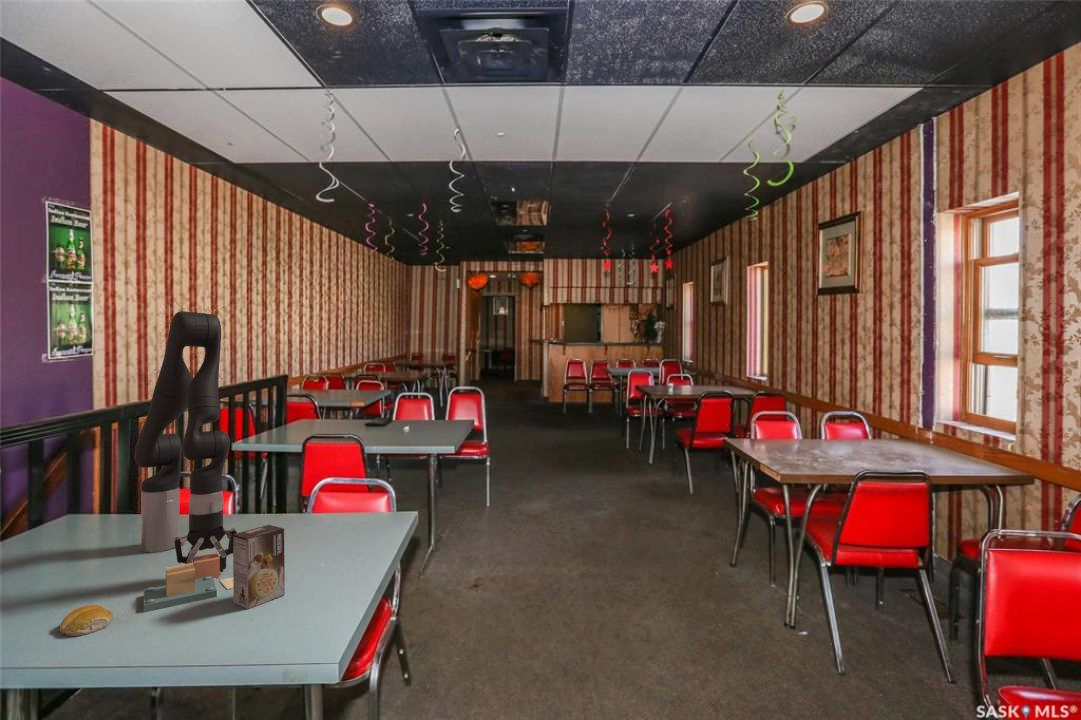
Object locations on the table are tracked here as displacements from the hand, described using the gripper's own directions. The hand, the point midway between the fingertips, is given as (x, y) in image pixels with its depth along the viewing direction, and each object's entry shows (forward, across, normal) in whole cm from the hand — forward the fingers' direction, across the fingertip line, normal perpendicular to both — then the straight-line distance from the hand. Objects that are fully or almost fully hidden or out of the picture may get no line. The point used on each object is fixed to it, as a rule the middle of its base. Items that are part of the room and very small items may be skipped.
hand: (206, 573), depth 142 cm
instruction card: (+1, -8, +8) cm, 11 cm away
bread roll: (+1, +23, +16) cm, 28 cm away
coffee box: (+1, -9, +22) cm, 24 cm away
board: (+1, +6, +10) cm, 12 cm away
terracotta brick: (+1, 0, 0) cm, 1 cm away
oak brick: (-1, +6, +10) cm, 12 cm away
